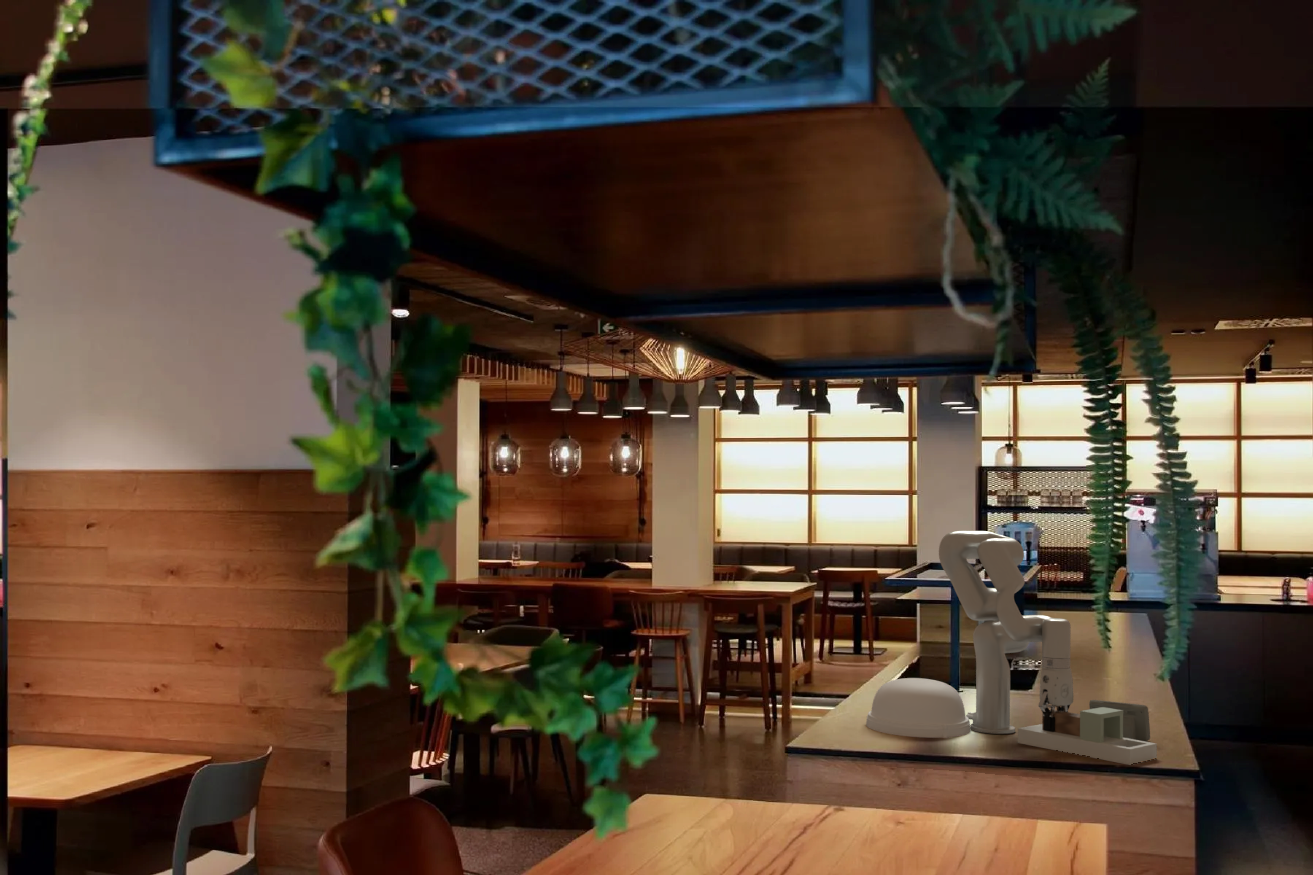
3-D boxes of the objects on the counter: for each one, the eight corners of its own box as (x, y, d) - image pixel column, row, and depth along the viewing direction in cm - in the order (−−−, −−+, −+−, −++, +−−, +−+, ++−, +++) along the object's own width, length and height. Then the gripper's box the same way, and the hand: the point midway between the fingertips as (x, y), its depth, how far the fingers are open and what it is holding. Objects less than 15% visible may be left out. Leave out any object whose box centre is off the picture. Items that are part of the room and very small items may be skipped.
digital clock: (1153, 741, 349) (1153, 703, 349) (1140, 745, 342) (1140, 707, 343) (1097, 732, 360) (1098, 696, 361) (1084, 737, 354) (1084, 699, 354)
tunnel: (1079, 738, 329) (1080, 710, 330) (1102, 734, 336) (1102, 706, 337) (1100, 742, 325) (1100, 714, 325) (1122, 738, 332) (1123, 710, 332)
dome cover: (846, 720, 374) (847, 673, 374) (934, 716, 383) (934, 670, 383) (899, 741, 343) (900, 690, 344) (993, 736, 352) (993, 686, 353)
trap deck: (1017, 742, 343) (1017, 728, 343) (1044, 737, 351) (1044, 723, 351) (1130, 764, 317) (1130, 749, 317) (1156, 758, 325) (1156, 743, 325)
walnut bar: (1042, 729, 342) (1042, 711, 342) (1052, 727, 345) (1052, 709, 345) (1091, 738, 330) (1091, 719, 330) (1101, 736, 333) (1101, 717, 333)
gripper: (1050, 667, 334) (1049, 735, 333) (1085, 662, 344) (1084, 728, 344) (1026, 664, 339) (1025, 731, 339) (1061, 659, 350) (1060, 724, 350)
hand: (1055, 729), depth 341 cm, fingers closed on walnut bar, 5 cm apart
